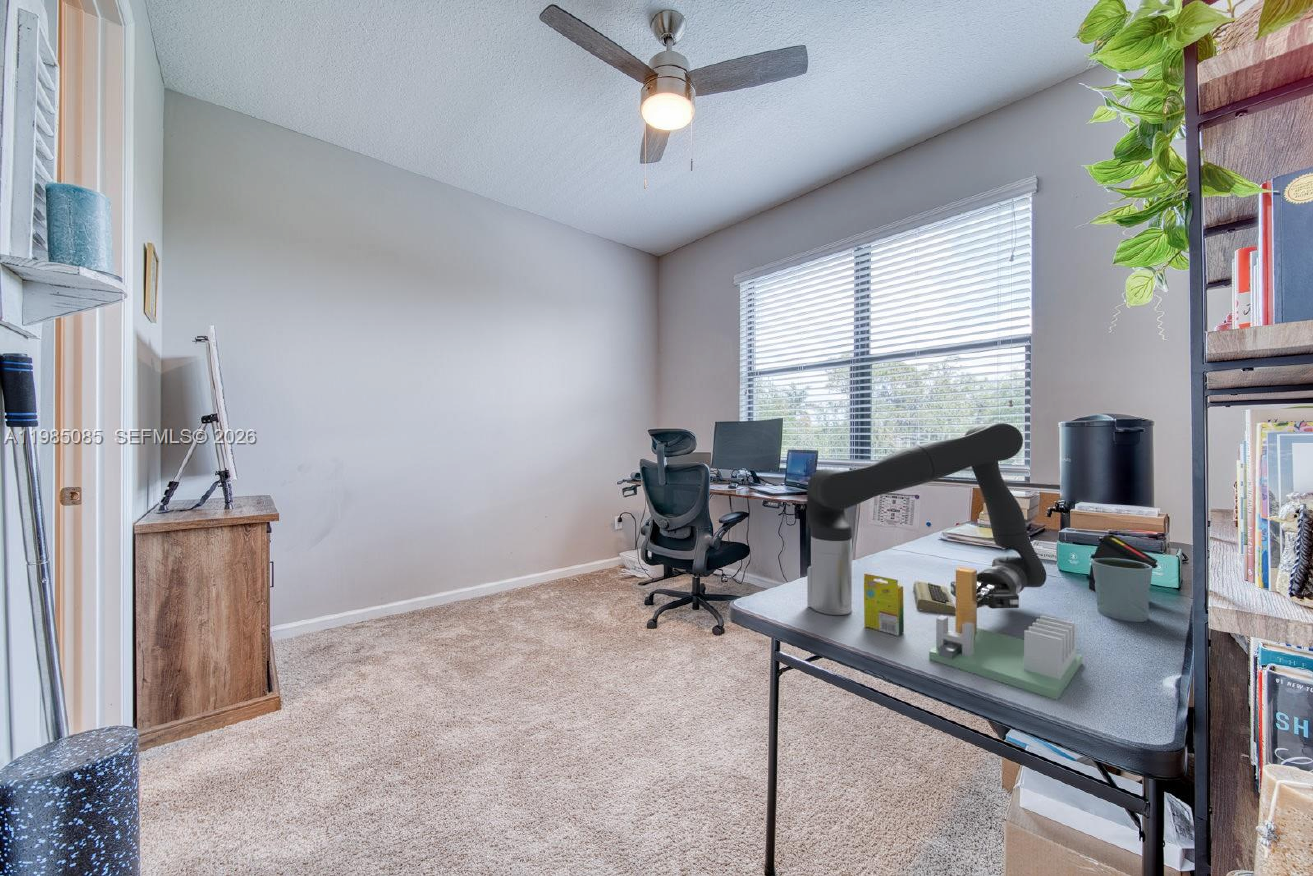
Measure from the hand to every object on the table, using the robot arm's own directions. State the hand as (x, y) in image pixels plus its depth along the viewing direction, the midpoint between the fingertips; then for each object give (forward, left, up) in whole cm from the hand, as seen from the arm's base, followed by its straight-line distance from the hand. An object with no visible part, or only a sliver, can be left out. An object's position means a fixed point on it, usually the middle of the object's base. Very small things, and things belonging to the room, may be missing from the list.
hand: (968, 603), depth 99 cm
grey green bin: (+17, +45, -9) cm, 49 cm away
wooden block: (0, -6, -7) cm, 9 cm away
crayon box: (-15, -4, -9) cm, 18 cm away
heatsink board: (+6, -2, -8) cm, 11 cm away
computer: (-15, +23, -9) cm, 29 cm away
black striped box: (+15, +63, -9) cm, 66 cm away
